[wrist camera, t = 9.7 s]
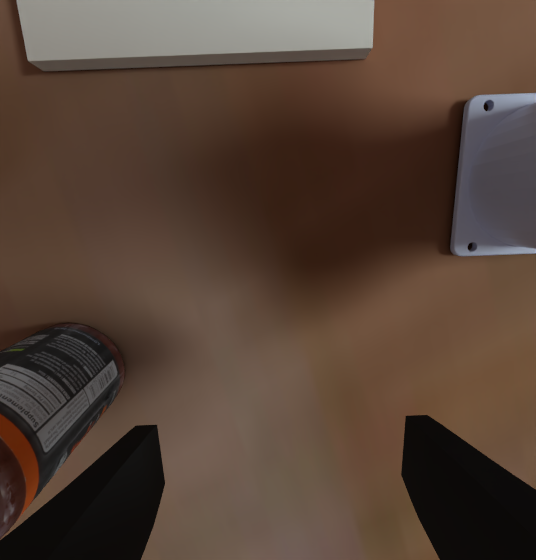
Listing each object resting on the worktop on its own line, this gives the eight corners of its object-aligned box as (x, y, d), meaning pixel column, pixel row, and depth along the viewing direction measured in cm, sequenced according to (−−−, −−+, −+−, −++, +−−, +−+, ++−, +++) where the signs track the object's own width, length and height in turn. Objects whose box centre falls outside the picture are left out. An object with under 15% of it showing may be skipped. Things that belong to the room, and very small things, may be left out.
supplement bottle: (81, 423, 19) (-173, 711, 8) (11, 357, 18) (-392, 583, 7) (149, 372, 18) (-28, 613, 7) (80, 299, 17) (-250, 452, 6)
